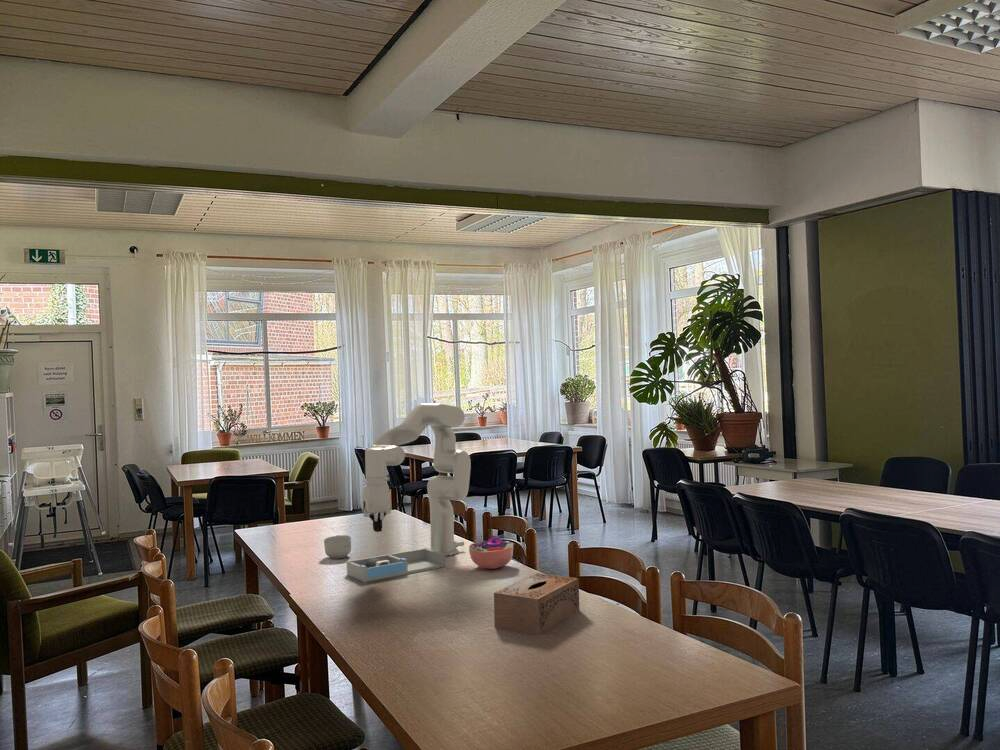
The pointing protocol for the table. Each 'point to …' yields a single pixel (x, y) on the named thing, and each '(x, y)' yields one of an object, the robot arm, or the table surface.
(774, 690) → the table surface
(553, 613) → the tissue box cover
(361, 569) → the divided grey tray
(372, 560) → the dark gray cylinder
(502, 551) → the cell model
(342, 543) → the teacup
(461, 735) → the table surface
